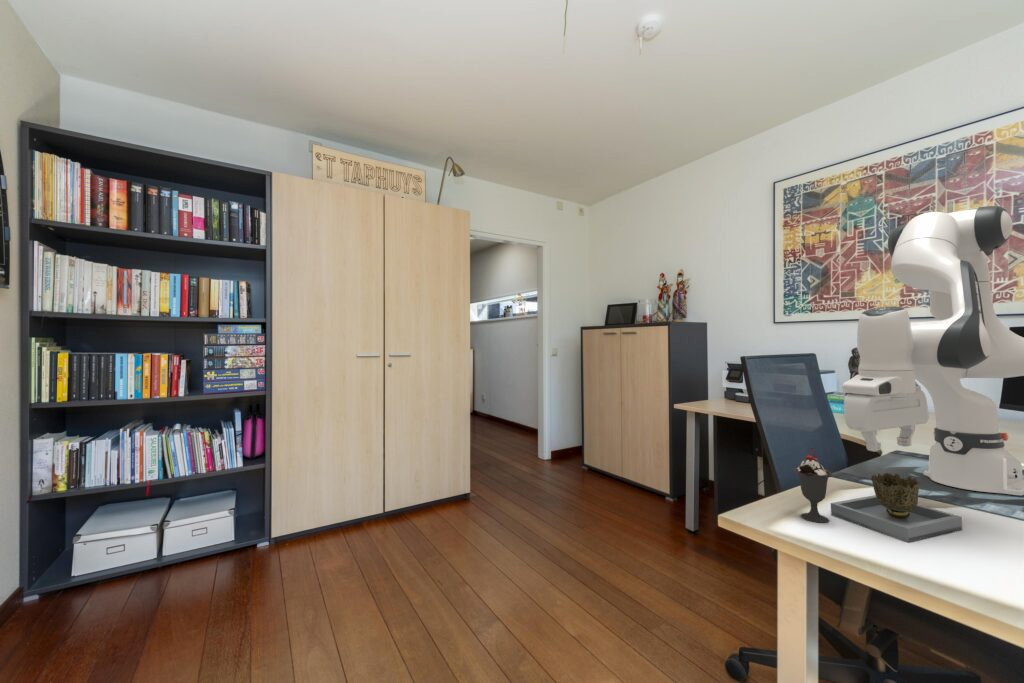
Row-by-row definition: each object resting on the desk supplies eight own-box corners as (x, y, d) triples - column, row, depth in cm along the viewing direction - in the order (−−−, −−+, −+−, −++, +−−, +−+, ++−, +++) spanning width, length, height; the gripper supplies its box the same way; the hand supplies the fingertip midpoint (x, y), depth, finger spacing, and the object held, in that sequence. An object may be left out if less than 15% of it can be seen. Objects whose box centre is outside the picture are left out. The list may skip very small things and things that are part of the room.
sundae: (820, 512, 92) (817, 445, 92) (841, 524, 85) (838, 452, 85) (789, 511, 92) (786, 445, 93) (807, 524, 86) (804, 452, 86)
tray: (881, 505, 95) (880, 494, 95) (962, 530, 81) (961, 516, 81) (831, 514, 90) (830, 503, 90) (908, 542, 77) (907, 528, 77)
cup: (867, 514, 88) (863, 477, 88) (886, 505, 91) (882, 470, 91) (911, 527, 81) (907, 487, 81) (930, 517, 84) (926, 479, 84)
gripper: (901, 379, 93) (904, 440, 92) (836, 385, 87) (839, 450, 87) (937, 381, 87) (940, 446, 86) (869, 387, 81) (873, 457, 81)
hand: (889, 448), depth 86 cm, fingers open, 8 cm apart
